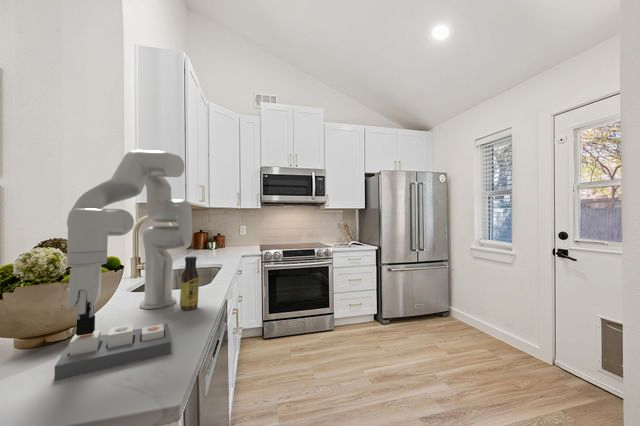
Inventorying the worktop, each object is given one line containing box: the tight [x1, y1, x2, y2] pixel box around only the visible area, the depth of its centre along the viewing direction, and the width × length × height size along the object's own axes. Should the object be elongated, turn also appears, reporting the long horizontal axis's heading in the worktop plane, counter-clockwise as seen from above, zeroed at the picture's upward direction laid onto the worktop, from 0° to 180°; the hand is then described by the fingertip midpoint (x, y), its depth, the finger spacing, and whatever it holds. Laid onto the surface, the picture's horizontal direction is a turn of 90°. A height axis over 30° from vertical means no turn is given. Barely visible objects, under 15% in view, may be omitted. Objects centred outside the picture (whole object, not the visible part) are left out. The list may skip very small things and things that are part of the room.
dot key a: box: [141, 323, 164, 341], centre depth 73 cm, size 5×5×4 cm
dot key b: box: [69, 329, 102, 356], centre depth 66 cm, size 5×5×4 cm
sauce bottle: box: [179, 256, 200, 312], centre depth 104 cm, size 6×6×20 cm
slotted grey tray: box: [53, 323, 172, 381], centre depth 70 cm, size 14×22×3 cm, turn 122°
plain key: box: [107, 324, 135, 348], centre depth 70 cm, size 5×5×4 cm
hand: (85, 333), depth 66 cm, fingers closed
